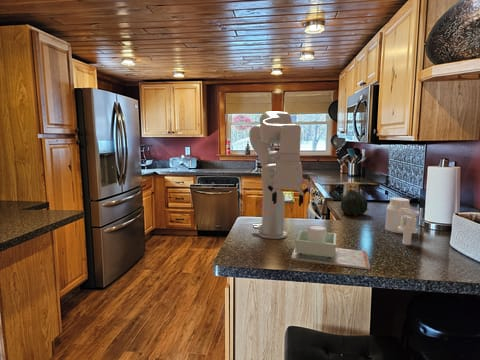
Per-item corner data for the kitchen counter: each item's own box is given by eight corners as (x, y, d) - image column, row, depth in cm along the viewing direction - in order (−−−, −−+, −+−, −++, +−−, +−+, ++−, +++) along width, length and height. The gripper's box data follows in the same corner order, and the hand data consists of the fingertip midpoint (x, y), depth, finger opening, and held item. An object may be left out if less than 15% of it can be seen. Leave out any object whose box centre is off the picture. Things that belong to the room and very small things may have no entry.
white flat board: (290, 259, 111) (291, 257, 111) (296, 245, 126) (296, 243, 126) (370, 269, 103) (370, 267, 103) (366, 253, 118) (366, 251, 118)
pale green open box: (295, 255, 112) (295, 240, 111) (299, 243, 124) (300, 229, 124) (334, 260, 108) (335, 244, 107) (335, 248, 120) (336, 233, 120)
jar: (389, 225, 159) (392, 196, 157) (410, 229, 153) (413, 198, 151) (383, 230, 150) (385, 199, 148) (405, 234, 144) (408, 202, 142)
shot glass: (315, 250, 111) (316, 231, 110) (302, 244, 117) (303, 226, 116) (329, 247, 114) (330, 228, 113) (317, 241, 120) (317, 224, 119)
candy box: (354, 204, 208) (355, 182, 206) (358, 206, 204) (359, 183, 202) (342, 205, 206) (343, 182, 205) (345, 206, 202) (347, 183, 200)
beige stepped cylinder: (393, 241, 134) (396, 206, 132) (409, 241, 134) (412, 206, 132) (403, 246, 127) (406, 210, 125) (420, 246, 127) (423, 210, 125)
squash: (377, 207, 175) (364, 185, 182) (357, 210, 169) (344, 187, 176) (361, 219, 186) (349, 198, 193) (342, 223, 179) (331, 200, 187)
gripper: (263, 158, 114) (262, 204, 116) (312, 160, 109) (310, 208, 111) (268, 156, 121) (266, 200, 123) (314, 158, 116) (311, 204, 118)
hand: (287, 204), depth 117 cm, fingers open, 9 cm apart
